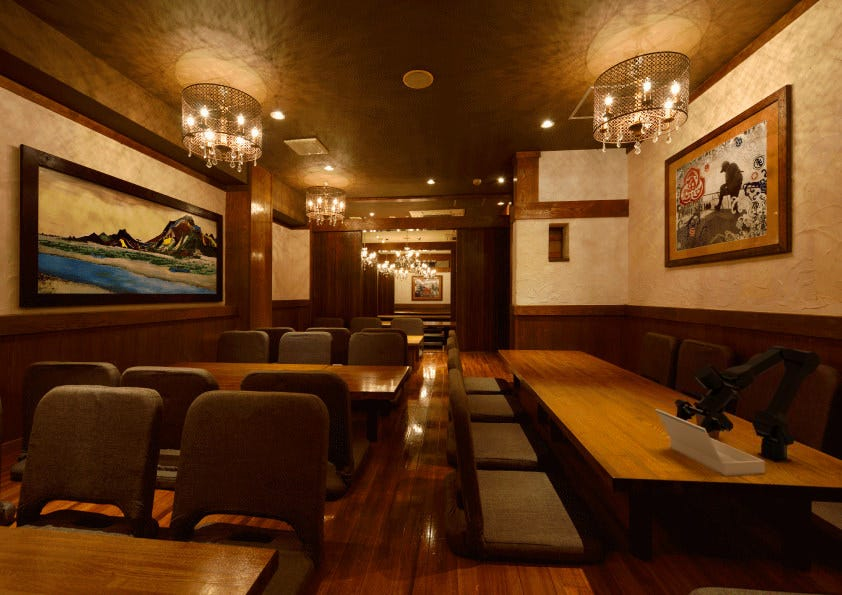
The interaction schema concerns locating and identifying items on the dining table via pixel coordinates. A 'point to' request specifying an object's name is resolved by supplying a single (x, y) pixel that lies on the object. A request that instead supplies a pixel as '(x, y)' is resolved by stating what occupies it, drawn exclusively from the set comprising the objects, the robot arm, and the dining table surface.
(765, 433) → the robot arm
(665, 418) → the flap
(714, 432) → the disposable coffee cup
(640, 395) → the dining table surface
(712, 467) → the carton
